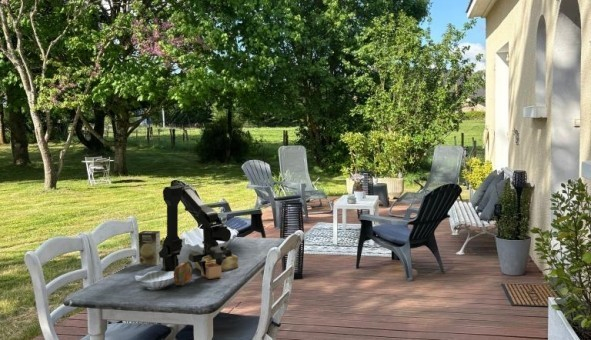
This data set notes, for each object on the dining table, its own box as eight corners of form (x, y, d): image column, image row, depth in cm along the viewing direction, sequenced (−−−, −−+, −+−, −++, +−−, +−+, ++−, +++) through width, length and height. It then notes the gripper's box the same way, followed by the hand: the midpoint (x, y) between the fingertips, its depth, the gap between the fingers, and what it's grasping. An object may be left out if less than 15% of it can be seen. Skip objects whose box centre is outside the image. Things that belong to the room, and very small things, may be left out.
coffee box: (139, 265, 270) (137, 233, 268) (143, 262, 276) (142, 230, 275) (157, 265, 269) (155, 233, 267) (161, 262, 275) (160, 230, 274)
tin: (180, 288, 231) (179, 268, 230) (173, 287, 232) (172, 268, 231) (193, 277, 246) (192, 259, 245) (187, 277, 247) (186, 259, 246)
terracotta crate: (209, 279, 241) (208, 268, 240) (201, 275, 247) (200, 264, 247) (221, 276, 244) (221, 265, 244) (213, 273, 251) (213, 262, 250)
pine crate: (207, 273, 252) (206, 261, 251) (195, 268, 262) (194, 256, 262) (238, 267, 261) (237, 256, 260) (225, 262, 271) (225, 251, 271)
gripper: (198, 245, 232) (199, 281, 234) (237, 239, 243) (238, 274, 244) (187, 241, 242) (189, 276, 243) (225, 235, 252) (226, 268, 253)
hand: (211, 273), depth 246 cm, fingers closed on terracotta crate, 6 cm apart
